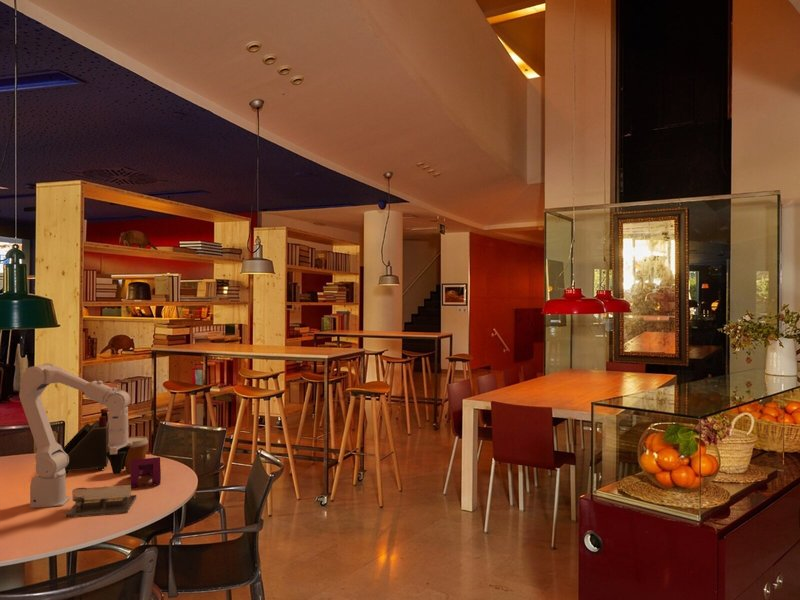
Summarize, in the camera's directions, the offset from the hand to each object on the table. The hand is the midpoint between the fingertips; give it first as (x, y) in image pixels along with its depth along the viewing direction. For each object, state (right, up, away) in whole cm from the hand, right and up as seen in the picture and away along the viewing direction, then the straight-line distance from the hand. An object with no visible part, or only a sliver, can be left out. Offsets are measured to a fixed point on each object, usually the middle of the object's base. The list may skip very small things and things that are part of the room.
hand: (118, 471), depth 195 cm
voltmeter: (-31, -10, +39) cm, 51 cm away
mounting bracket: (-1, -10, +22) cm, 24 cm away
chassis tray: (-2, -9, -6) cm, 11 cm away
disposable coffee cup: (-10, -10, +34) cm, 37 cm away
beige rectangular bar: (-2, -6, -6) cm, 9 cm away
